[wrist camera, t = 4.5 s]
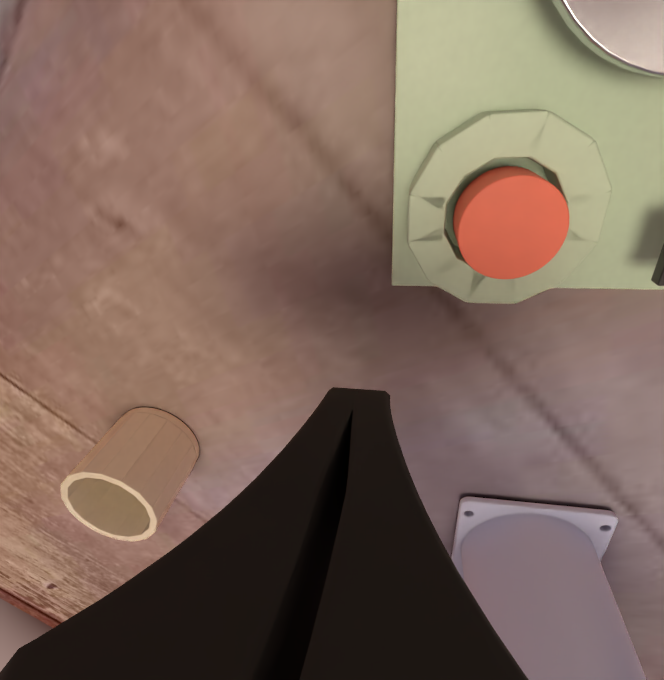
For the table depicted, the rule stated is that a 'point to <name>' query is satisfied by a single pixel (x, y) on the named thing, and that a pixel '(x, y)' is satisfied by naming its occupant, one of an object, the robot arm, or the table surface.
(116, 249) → the table surface
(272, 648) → the robot arm
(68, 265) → the table surface
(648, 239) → the scale
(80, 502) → the cup
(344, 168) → the table surface
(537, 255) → the tare button
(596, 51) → the weighing plate
